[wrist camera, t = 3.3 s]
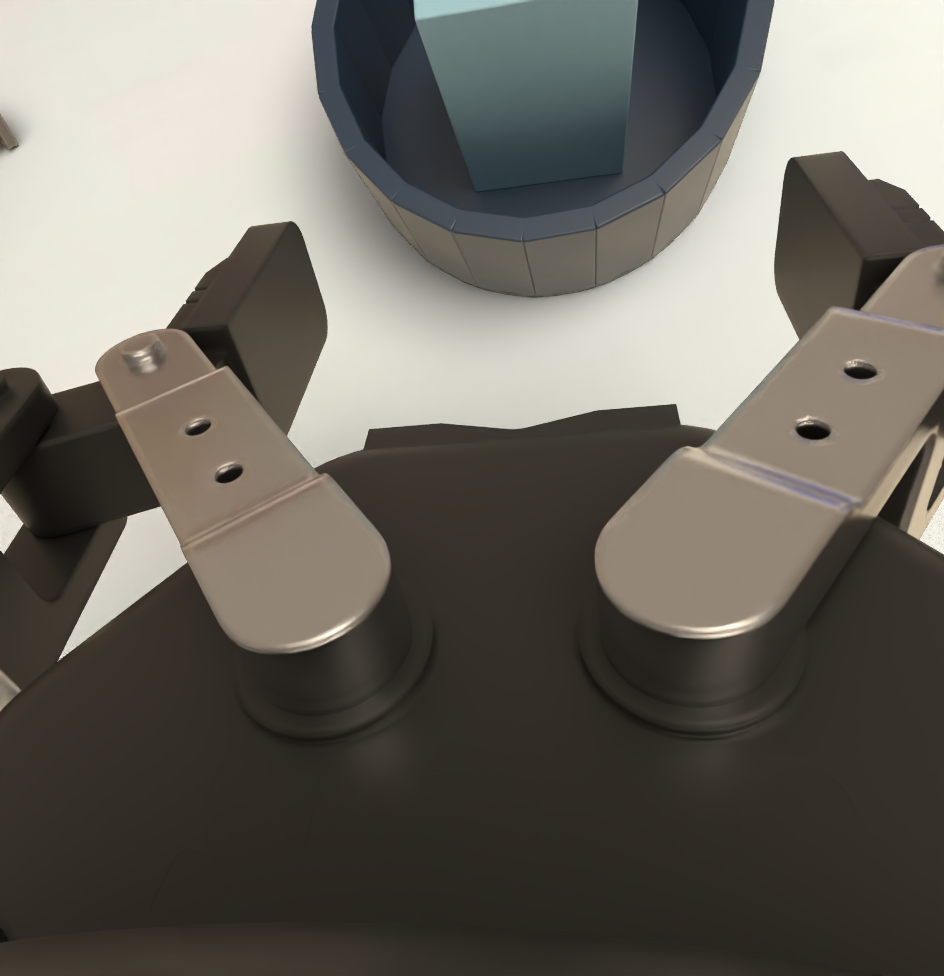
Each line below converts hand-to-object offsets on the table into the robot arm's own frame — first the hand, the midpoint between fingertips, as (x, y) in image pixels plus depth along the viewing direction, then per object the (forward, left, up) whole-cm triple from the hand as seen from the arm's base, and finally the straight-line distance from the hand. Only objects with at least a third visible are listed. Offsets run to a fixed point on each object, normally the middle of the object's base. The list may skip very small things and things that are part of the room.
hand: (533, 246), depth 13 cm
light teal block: (-2, +9, -13) cm, 16 cm away
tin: (-2, +9, -13) cm, 16 cm away
